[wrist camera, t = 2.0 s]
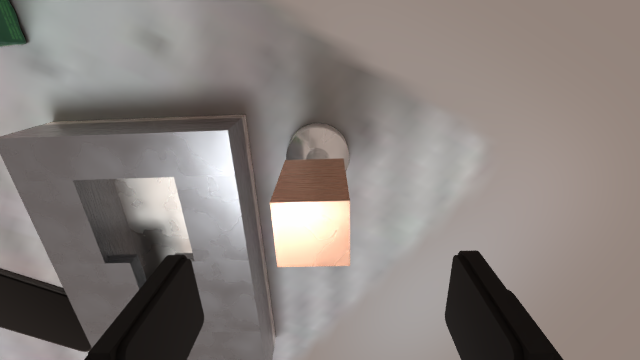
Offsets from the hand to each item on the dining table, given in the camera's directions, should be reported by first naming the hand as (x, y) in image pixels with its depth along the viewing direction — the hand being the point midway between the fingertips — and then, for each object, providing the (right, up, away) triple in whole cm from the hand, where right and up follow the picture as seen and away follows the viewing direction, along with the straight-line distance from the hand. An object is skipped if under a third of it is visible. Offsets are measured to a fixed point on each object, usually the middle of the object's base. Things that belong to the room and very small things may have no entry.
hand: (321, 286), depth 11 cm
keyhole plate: (-12, -2, +16) cm, 20 cm away
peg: (0, +6, +12) cm, 13 cm away
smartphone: (-29, -8, +19) cm, 35 cm away
